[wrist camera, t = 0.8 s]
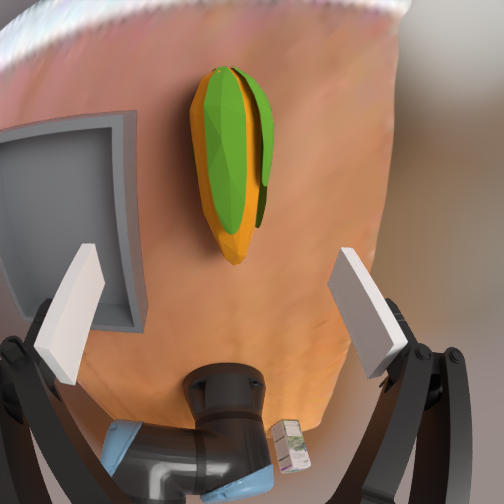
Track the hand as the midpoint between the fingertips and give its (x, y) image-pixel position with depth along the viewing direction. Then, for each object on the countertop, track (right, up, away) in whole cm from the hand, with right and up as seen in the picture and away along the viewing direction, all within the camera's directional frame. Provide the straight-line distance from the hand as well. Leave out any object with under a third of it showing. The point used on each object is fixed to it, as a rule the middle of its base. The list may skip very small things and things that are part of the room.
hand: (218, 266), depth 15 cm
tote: (-20, +4, +14) cm, 25 cm away
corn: (0, +10, +14) cm, 17 cm away
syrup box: (+10, -45, +51) cm, 68 cm away
